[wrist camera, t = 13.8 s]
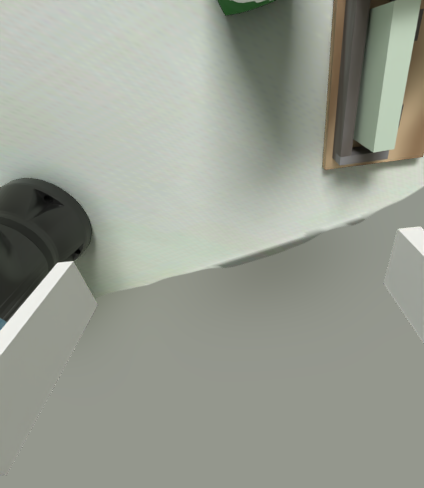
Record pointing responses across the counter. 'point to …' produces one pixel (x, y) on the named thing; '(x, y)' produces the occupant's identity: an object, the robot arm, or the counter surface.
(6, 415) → the robot arm
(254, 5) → the milk carton
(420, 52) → the wooden stand with tray
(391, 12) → the pale green rectangular block
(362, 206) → the counter surface
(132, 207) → the counter surface
